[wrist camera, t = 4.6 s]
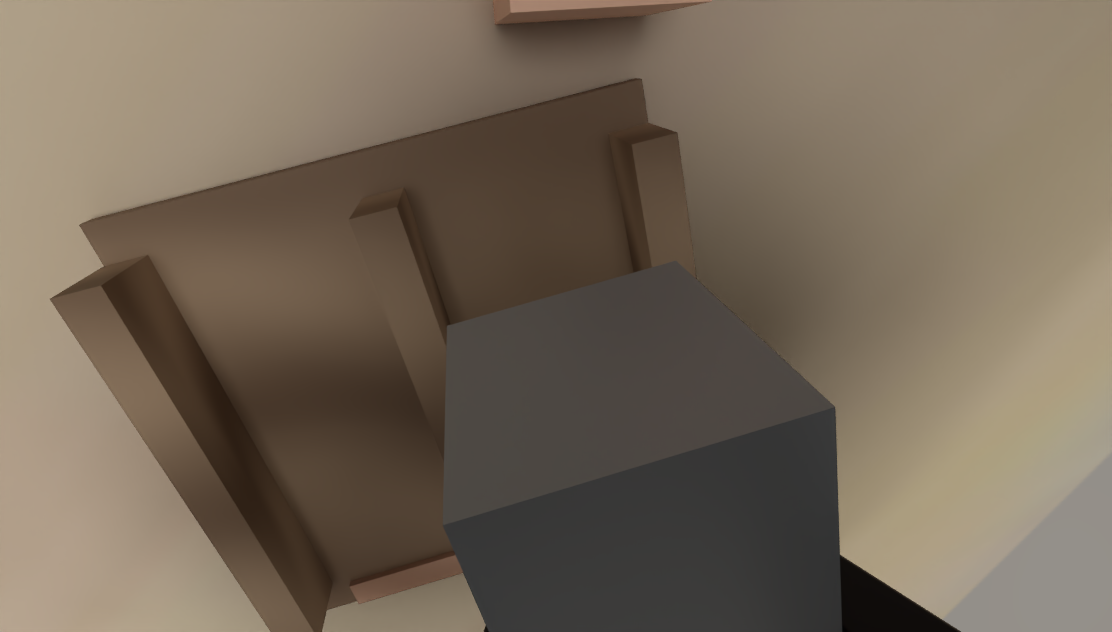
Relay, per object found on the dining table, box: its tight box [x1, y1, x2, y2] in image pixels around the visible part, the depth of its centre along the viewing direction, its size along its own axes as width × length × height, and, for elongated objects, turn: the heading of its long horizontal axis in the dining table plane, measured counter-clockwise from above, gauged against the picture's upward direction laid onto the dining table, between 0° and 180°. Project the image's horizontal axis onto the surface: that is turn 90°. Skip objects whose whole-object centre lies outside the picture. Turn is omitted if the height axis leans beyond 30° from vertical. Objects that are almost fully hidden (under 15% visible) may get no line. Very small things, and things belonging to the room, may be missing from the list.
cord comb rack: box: [50, 78, 697, 632], centre depth 15 cm, size 13×13×2 cm
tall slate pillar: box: [443, 261, 842, 632], centre depth 9 cm, size 9×4×4 cm, turn 14°
